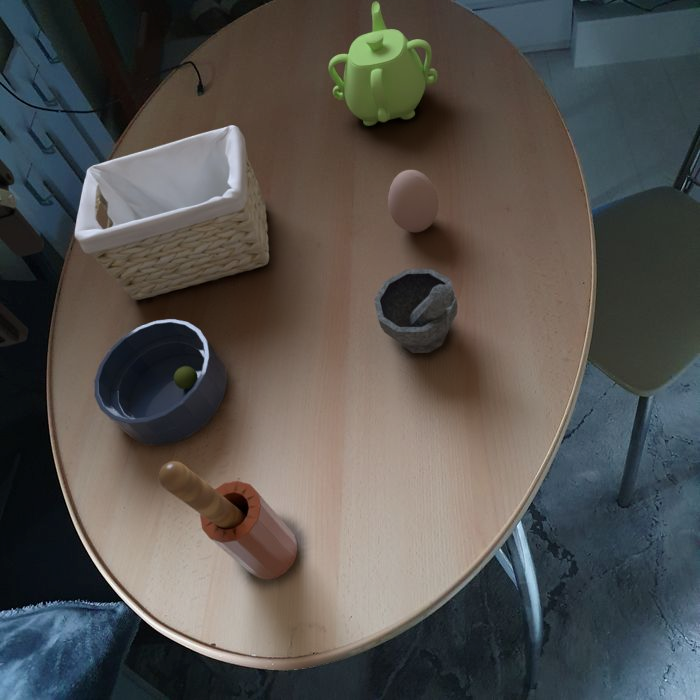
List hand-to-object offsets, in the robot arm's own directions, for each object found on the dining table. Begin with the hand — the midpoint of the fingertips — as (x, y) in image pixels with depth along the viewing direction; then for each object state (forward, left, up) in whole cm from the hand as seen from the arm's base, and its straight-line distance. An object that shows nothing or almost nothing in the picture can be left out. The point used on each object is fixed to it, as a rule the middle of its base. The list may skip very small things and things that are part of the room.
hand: (24, 293), depth 48 cm
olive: (+13, +12, -36) cm, 40 cm away
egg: (+45, -9, -38) cm, 60 cm away
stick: (-4, -8, -37) cm, 38 cm away
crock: (-4, -8, -38) cm, 39 cm away
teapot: (+72, +5, -38) cm, 82 cm away
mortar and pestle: (+27, -16, -38) cm, 50 cm away
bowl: (+11, +14, -38) cm, 42 cm away
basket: (+35, +23, -38) cm, 57 cm away
